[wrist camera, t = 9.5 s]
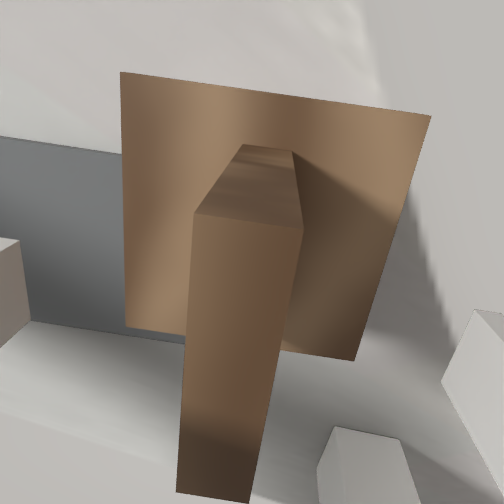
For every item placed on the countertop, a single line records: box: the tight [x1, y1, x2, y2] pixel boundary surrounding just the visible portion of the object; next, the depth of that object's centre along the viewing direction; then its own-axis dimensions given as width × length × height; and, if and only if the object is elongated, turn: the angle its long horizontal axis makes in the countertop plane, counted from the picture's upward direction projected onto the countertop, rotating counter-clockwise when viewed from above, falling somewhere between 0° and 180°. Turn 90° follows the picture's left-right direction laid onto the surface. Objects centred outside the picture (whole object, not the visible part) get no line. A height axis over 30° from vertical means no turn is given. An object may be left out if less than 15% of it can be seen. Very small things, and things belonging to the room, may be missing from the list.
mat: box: [0, 136, 186, 344], centre depth 26 cm, size 20×14×1 cm
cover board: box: [120, 72, 431, 504], centre depth 13 cm, size 12×12×10 cm
